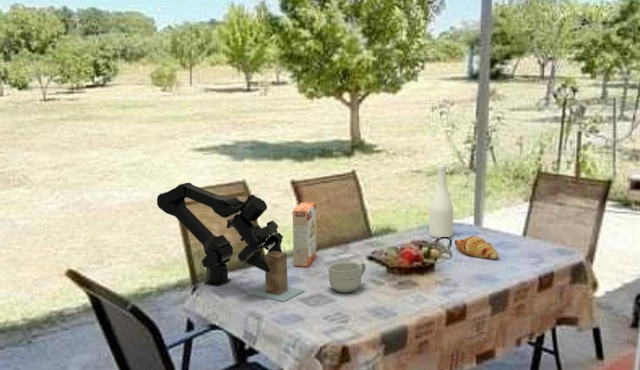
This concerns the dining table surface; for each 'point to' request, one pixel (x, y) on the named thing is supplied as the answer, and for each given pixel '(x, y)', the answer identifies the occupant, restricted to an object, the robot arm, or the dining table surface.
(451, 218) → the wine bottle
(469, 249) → the croissant
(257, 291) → the slate mat
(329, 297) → the dining table surface
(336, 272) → the teacup
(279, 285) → the walnut block
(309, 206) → the cracker box
